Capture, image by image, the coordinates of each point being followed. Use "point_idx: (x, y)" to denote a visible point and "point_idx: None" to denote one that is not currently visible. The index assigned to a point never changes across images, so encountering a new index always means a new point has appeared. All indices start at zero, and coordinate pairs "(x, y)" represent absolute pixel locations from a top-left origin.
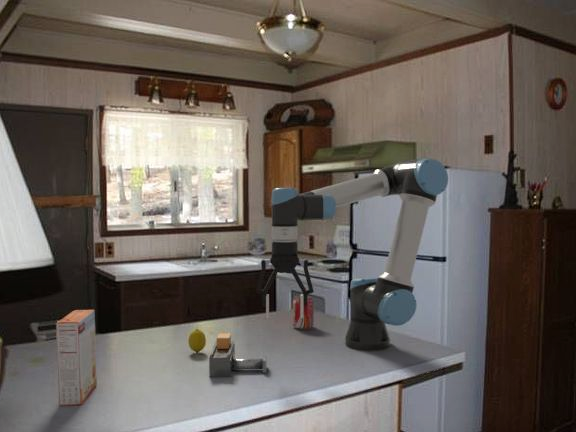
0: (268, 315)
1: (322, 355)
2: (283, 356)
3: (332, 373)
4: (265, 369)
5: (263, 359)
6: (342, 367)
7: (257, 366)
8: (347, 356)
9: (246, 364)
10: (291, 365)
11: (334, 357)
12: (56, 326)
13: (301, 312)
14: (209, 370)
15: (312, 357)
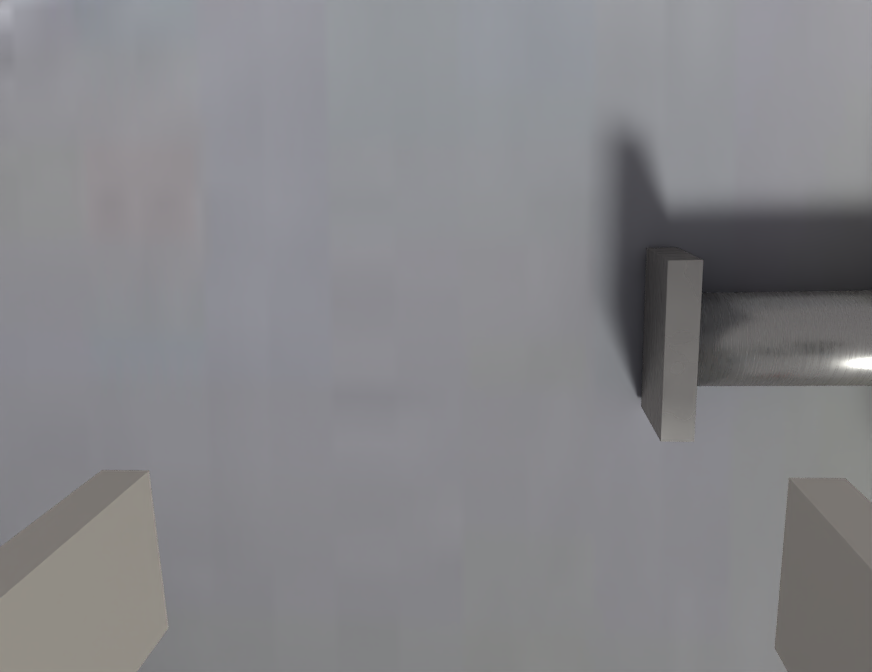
0: (818, 506)
1: (195, 658)
2: (499, 653)
3: (107, 241)
4: (657, 249)
5: (693, 306)
6: (37, 380)
7: (734, 292)
8: None
9: (847, 296)
10: (433, 438)
11: None
12: None
13: (77, 524)
14: None
15: (270, 618)
